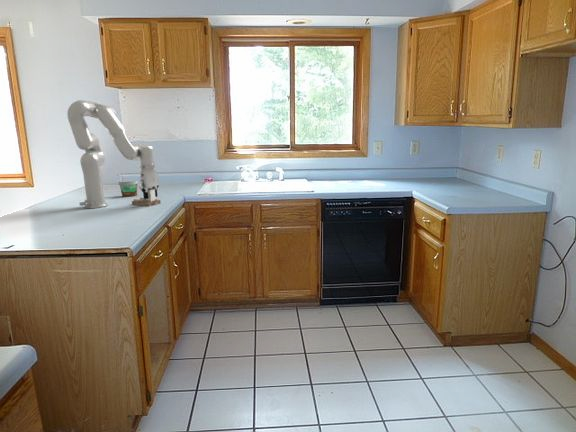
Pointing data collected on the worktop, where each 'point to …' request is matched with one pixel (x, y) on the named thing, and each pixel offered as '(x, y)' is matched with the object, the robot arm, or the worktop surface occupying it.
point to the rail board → (145, 202)
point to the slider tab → (151, 194)
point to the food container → (128, 188)
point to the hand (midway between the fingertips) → (150, 197)
